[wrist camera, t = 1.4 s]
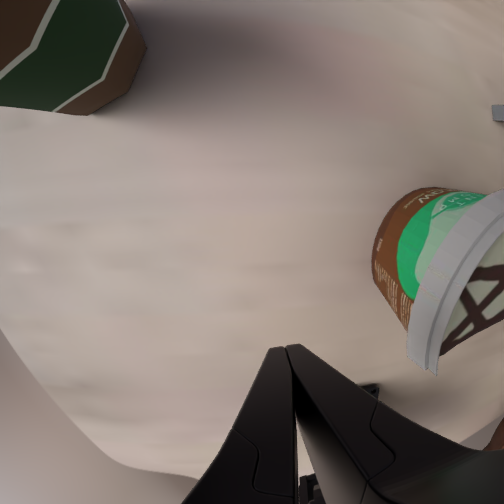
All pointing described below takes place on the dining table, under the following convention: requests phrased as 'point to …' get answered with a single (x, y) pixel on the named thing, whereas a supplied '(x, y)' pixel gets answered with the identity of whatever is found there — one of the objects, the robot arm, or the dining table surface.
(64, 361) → the dining table surface
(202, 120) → the dining table surface
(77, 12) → the beer bottle
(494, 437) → the dish
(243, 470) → the robot arm
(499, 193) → the food container
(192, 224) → the dining table surface
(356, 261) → the dining table surface
